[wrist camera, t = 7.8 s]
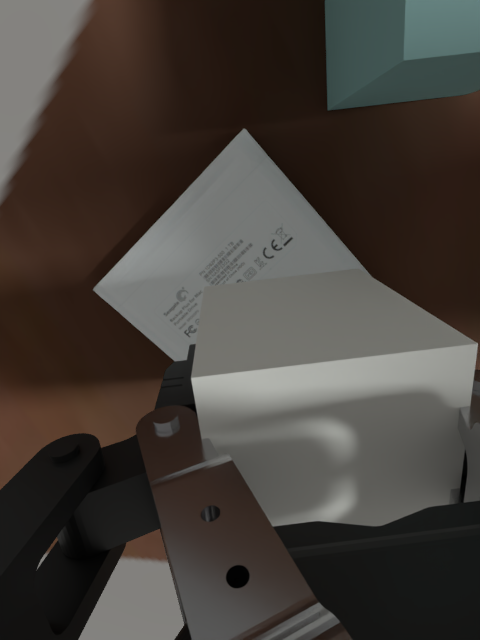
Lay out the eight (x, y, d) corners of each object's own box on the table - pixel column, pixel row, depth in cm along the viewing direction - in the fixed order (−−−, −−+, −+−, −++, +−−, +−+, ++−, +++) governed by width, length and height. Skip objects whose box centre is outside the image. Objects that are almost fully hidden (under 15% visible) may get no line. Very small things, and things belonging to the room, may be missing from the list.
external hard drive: (295, 450, 19) (101, 281, 16) (426, 346, 18) (242, 131, 14) (301, 474, 18) (88, 292, 14) (446, 362, 16) (246, 125, 13)
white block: (358, 268, 12) (478, 343, 7) (358, 401, 14) (452, 550, 8) (204, 286, 12) (191, 378, 7) (223, 418, 14) (225, 580, 8)
